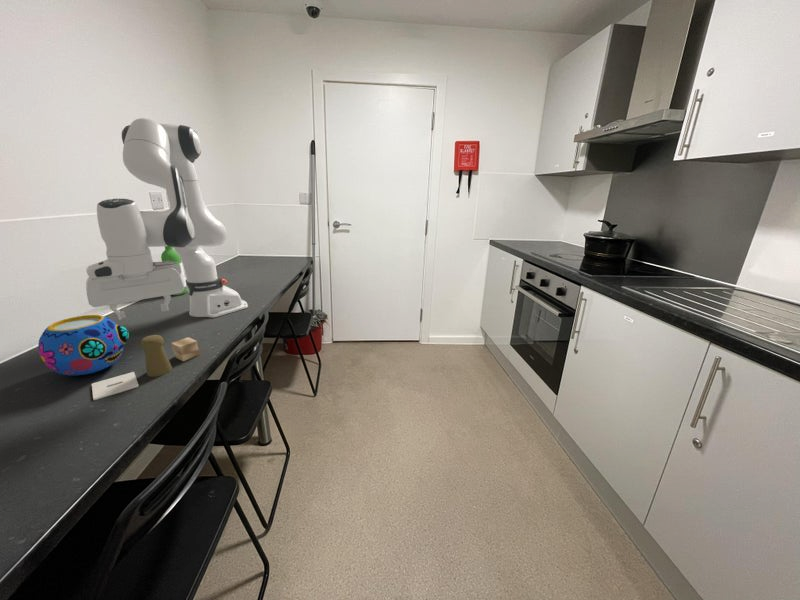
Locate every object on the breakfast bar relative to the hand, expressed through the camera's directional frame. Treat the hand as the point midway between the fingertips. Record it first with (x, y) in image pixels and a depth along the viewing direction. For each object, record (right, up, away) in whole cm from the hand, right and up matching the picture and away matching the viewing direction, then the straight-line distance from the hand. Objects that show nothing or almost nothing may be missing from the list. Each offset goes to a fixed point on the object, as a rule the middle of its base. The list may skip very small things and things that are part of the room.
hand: (144, 314), depth 88 cm
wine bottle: (-40, +7, +73) cm, 84 cm away
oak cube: (+2, -14, +15) cm, 20 cm away
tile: (-7, -19, -1) cm, 20 cm away
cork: (0, -17, +6) cm, 18 cm away
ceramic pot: (-20, -17, +6) cm, 27 cm away
